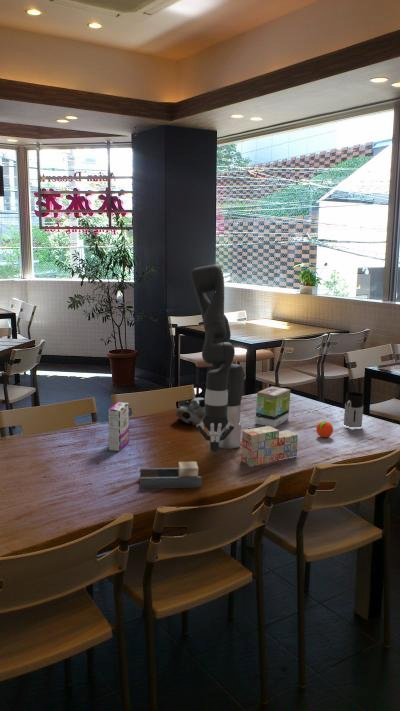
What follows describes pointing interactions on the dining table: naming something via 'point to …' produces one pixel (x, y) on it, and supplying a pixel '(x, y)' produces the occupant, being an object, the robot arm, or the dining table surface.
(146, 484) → the chute
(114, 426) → the candy bar box
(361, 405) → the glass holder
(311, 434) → the dining table surface
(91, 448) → the dining table surface
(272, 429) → the stack of blocks
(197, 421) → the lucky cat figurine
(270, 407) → the tea box
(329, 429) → the clementine
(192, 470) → the birch block
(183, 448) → the dining table surface
